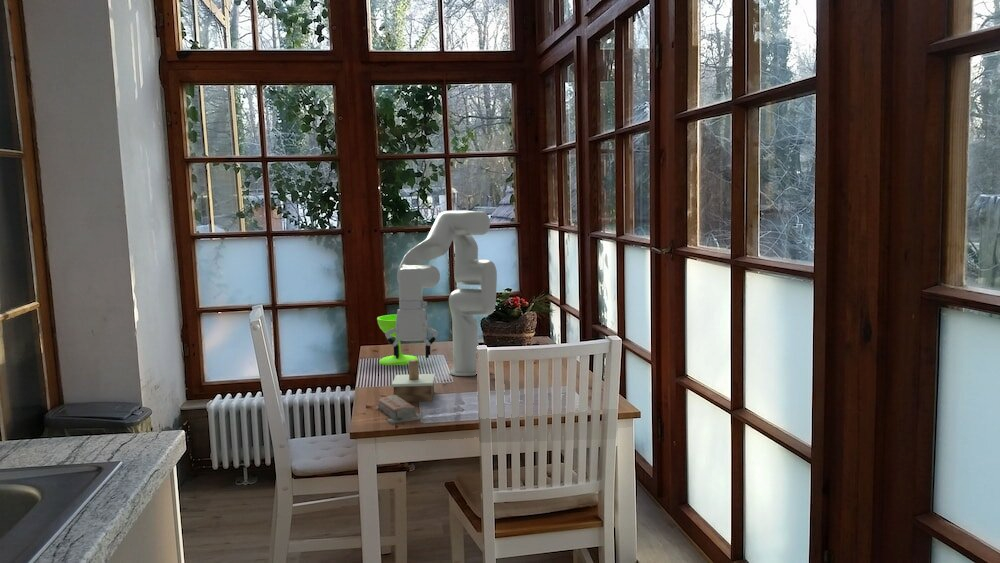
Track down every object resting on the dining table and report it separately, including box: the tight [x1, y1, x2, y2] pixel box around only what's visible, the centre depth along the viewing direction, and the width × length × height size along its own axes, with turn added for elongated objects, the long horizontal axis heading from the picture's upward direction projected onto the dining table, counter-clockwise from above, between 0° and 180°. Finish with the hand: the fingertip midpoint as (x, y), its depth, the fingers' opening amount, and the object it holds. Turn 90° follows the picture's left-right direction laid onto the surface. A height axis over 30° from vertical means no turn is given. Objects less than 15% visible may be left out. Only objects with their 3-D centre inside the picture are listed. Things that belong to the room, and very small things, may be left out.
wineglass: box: [376, 313, 419, 366], centre depth 310 cm, size 16×16×18 cm
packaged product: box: [372, 394, 422, 424], centre depth 235 cm, size 18×5×10 cm
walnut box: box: [393, 382, 435, 403], centre depth 251 cm, size 12×12×6 cm
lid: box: [391, 359, 436, 388], centre depth 251 cm, size 13×13×7 cm
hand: (412, 357), depth 250 cm, fingers open, 9 cm apart
